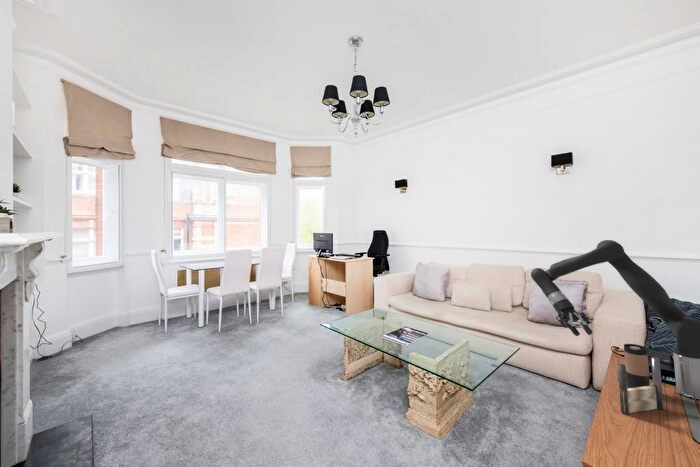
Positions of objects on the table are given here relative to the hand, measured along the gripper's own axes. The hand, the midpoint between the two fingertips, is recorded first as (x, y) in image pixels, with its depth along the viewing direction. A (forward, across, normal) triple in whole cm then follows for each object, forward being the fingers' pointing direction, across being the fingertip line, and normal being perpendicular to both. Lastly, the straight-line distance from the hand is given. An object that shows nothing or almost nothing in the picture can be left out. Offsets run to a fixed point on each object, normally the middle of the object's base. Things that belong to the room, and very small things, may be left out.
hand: (584, 334), depth 131 cm
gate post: (+29, +16, +8) cm, 34 cm away
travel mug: (+21, +22, +16) cm, 35 cm away
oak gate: (+29, +6, +7) cm, 31 cm away
